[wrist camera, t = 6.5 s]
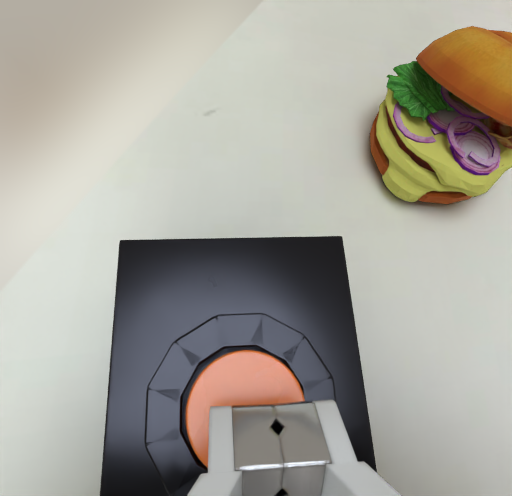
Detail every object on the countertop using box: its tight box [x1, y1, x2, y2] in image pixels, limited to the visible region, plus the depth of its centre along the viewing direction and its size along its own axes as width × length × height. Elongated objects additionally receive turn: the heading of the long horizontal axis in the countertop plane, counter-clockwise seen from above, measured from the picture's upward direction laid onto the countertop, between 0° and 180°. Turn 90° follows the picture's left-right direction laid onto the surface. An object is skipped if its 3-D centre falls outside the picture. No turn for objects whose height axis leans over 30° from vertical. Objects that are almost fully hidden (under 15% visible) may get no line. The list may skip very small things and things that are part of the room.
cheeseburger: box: [370, 26, 512, 204], centre depth 25 cm, size 10×11×10 cm
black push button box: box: [100, 236, 377, 496], centre depth 17 cm, size 10×10×9 cm
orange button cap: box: [185, 350, 305, 468], centre depth 12 cm, size 4×4×2 cm
